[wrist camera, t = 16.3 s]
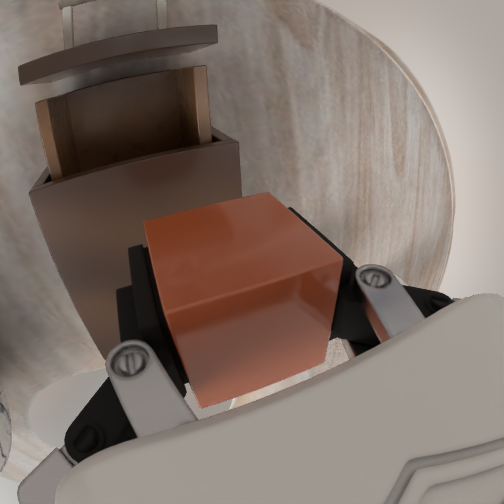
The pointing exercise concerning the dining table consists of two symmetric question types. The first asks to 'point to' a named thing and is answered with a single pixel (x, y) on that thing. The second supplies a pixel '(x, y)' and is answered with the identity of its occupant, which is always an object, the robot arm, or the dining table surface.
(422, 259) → the dining table surface
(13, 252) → the dining table surface
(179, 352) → the block
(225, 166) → the cabinet
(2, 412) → the decorative sphere
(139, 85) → the drawer
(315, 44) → the dining table surface
